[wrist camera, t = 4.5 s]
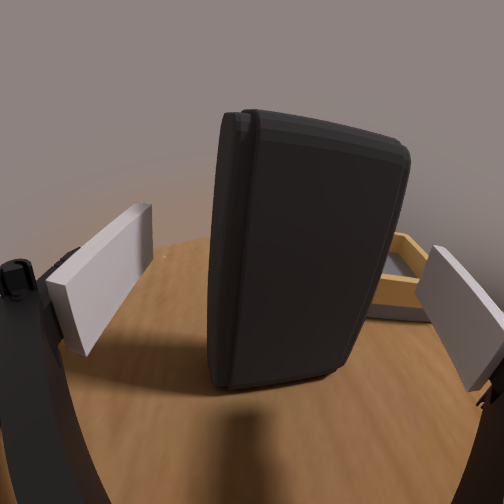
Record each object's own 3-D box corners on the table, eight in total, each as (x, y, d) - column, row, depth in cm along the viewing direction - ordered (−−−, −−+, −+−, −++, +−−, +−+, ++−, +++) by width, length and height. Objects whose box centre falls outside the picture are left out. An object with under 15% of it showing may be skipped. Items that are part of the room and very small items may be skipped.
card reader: (323, 338, 22) (375, 135, 16) (348, 375, 18) (423, 146, 12) (202, 352, 19) (219, 108, 13) (213, 398, 16) (238, 106, 10)
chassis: (405, 262, 38) (413, 235, 36) (449, 323, 25) (465, 289, 23) (262, 240, 38) (266, 210, 36) (254, 303, 25) (260, 261, 24)
